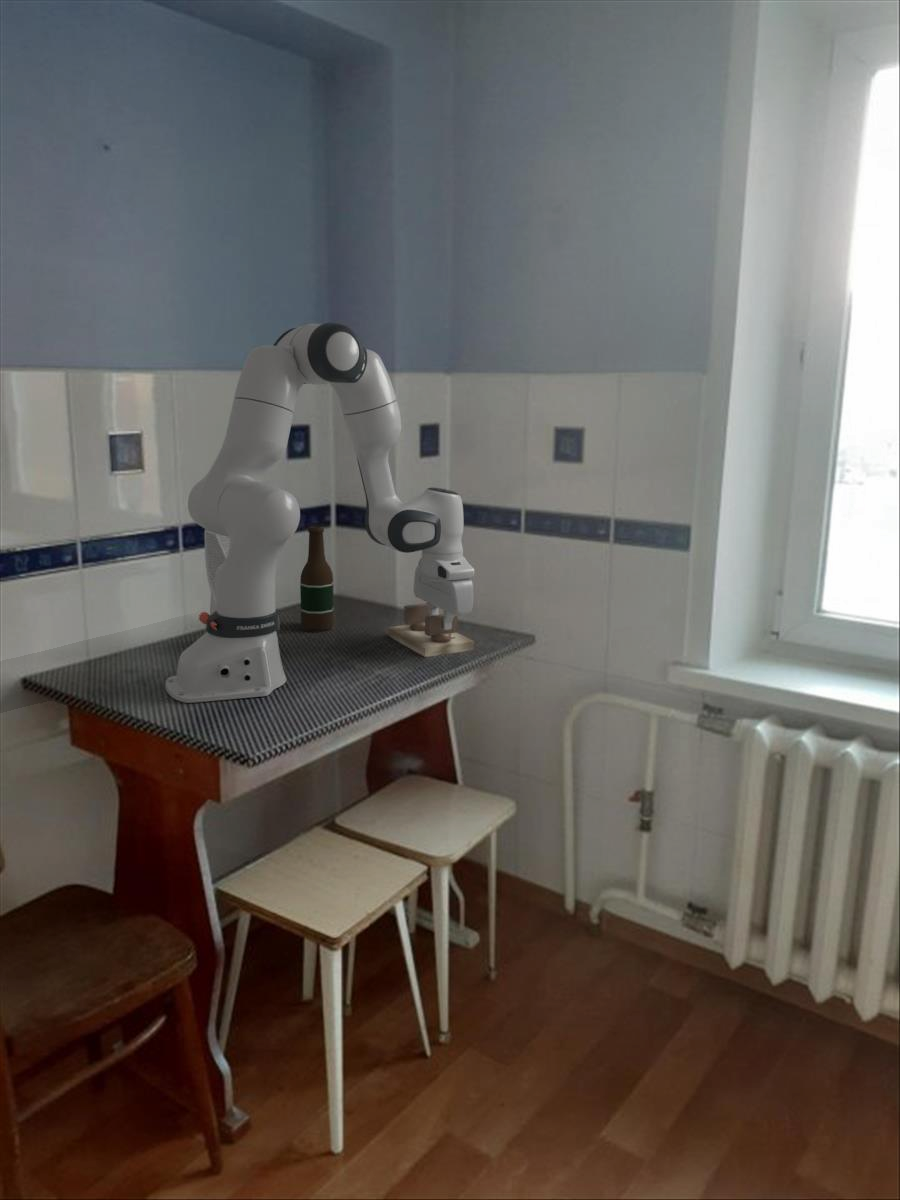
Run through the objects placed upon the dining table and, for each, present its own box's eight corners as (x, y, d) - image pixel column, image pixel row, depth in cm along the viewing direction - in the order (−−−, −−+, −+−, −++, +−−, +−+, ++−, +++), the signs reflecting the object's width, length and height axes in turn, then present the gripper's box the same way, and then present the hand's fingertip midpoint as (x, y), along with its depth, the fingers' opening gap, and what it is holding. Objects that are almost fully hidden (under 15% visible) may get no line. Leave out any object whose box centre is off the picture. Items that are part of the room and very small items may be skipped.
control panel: (425, 657, 197) (425, 640, 196) (388, 635, 212) (388, 620, 211) (474, 649, 203) (474, 634, 202) (434, 629, 218) (434, 614, 217)
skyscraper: (251, 643, 206) (247, 517, 199) (239, 653, 198) (234, 523, 191) (214, 641, 206) (208, 516, 199) (201, 652, 198) (195, 522, 192)
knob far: (410, 632, 207) (410, 607, 206) (401, 627, 211) (401, 602, 210) (437, 628, 211) (438, 603, 209) (428, 624, 215) (429, 599, 213)
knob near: (431, 644, 199) (432, 617, 198) (422, 638, 203) (422, 613, 201) (459, 639, 202) (460, 614, 201) (449, 634, 206) (450, 609, 205)
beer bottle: (338, 630, 215) (337, 528, 209) (305, 633, 212) (303, 530, 206) (329, 622, 222) (328, 523, 216) (297, 625, 219) (295, 524, 213)
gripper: (406, 556, 206) (406, 616, 209) (452, 574, 188) (451, 639, 192) (432, 553, 209) (431, 613, 212) (479, 571, 192) (477, 636, 195)
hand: (441, 626), depth 202 cm, fingers open, 3 cm apart
